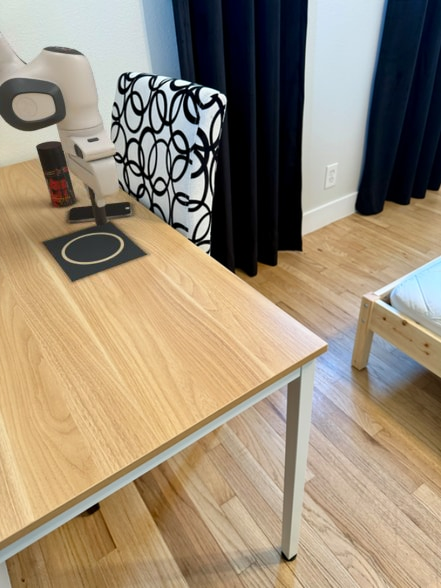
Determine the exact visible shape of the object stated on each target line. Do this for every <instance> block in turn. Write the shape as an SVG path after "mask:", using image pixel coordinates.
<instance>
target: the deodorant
mask: <svg viewBox="0 0 441 588" xmlns="http://www.w3.org/2000/svg"><path fill="white" fill-rule="evenodd" d="M35 148H36V149H35V150H36V151H37V152H36V153H37V155H38V160H39V162H40V166H41V169H42V173H43V176H44V180H45V183H46V186H47V187H46V188H47V190H48V193H49V198H50V201H51V204H52V206H53V207H54V208H58V209H63V208H68V207H72V206H73V205H75V204H76V203H77V199H76V194H75V191H74V186H73V183H72V178H71V174H70V170H69V167H68V165H67V160H66V155H65V152H64V151H63V149H62V145H61V141H59V140H58V141H57V140H51V141H44V142H41V143H37V144H36V146H35Z"/></svg>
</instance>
